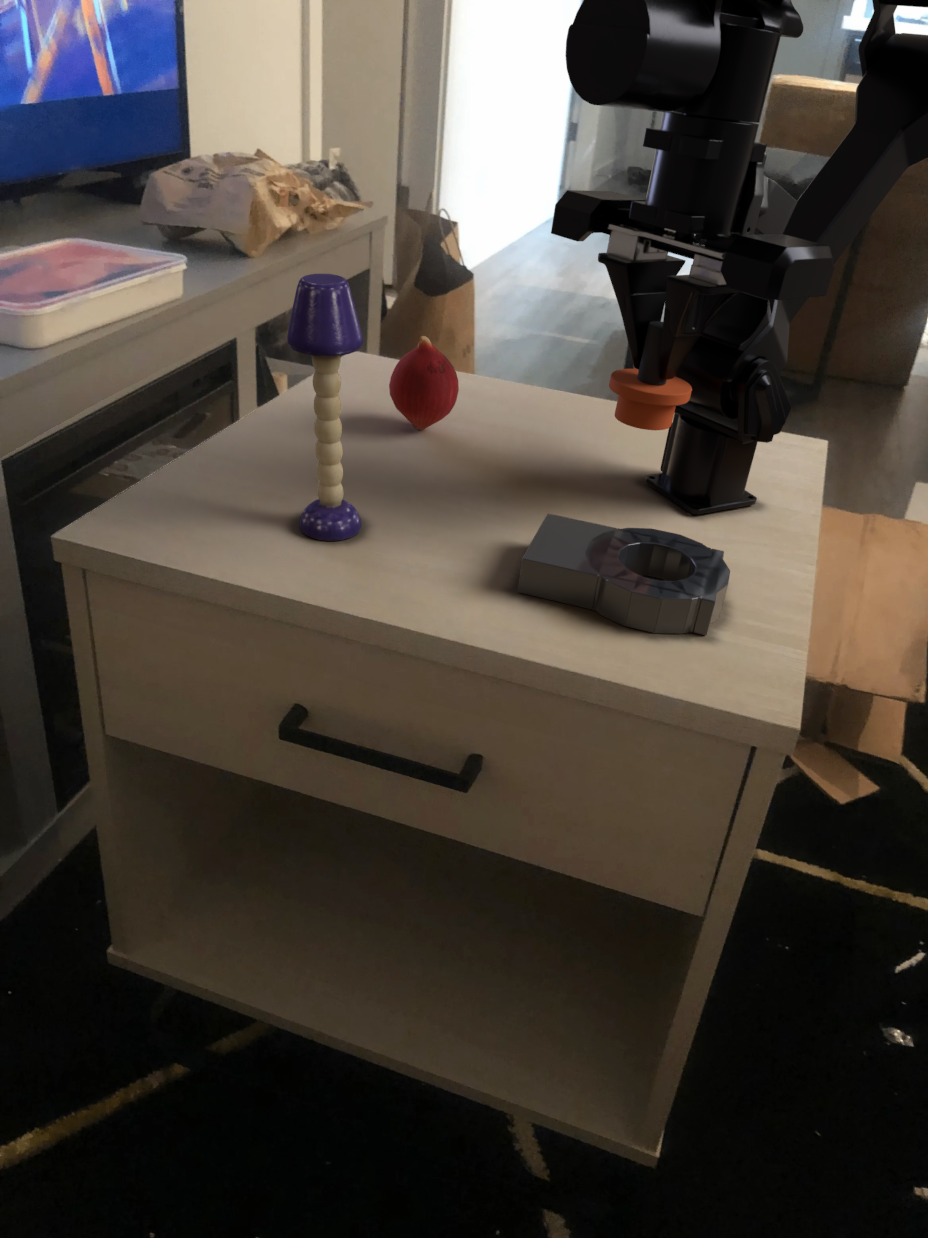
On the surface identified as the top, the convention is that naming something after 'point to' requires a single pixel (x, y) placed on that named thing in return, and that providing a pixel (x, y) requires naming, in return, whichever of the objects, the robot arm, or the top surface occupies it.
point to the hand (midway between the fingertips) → (653, 373)
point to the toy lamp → (326, 393)
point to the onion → (424, 385)
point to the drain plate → (627, 574)
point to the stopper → (648, 388)
